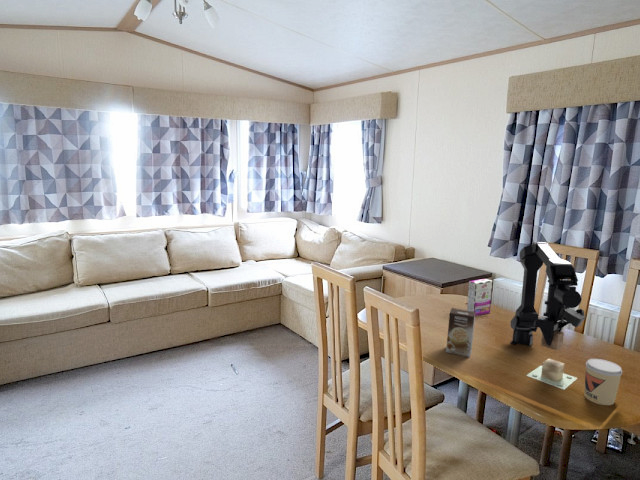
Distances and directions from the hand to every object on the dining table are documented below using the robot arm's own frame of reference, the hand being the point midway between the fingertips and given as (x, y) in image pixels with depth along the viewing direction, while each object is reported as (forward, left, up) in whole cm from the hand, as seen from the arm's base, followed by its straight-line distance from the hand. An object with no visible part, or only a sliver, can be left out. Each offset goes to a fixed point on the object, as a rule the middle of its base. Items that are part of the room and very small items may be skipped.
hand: (551, 343), depth 149 cm
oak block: (+2, -2, -11) cm, 11 cm away
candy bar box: (-48, +40, -12) cm, 63 cm away
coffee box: (-30, -7, -12) cm, 33 cm away
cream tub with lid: (+17, -5, -12) cm, 22 cm away
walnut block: (0, 0, -1) cm, 1 cm away
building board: (+2, -2, -12) cm, 12 cm away
